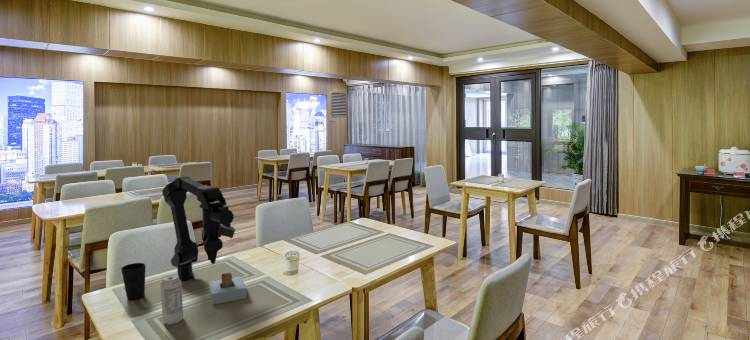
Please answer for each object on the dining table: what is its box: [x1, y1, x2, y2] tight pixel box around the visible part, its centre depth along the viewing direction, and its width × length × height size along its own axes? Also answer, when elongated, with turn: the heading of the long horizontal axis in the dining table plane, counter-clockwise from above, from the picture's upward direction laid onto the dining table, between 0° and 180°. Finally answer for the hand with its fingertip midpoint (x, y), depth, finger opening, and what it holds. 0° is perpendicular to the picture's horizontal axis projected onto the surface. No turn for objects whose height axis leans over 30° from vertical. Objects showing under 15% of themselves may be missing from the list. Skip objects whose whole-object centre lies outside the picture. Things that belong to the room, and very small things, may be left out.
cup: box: [120, 262, 146, 302], centre depth 149 cm, size 8×8×12 cm
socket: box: [208, 276, 248, 306], centre depth 152 cm, size 12×12×4 cm
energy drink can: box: [159, 274, 184, 326], centre depth 132 cm, size 6×6×15 cm
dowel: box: [221, 272, 233, 288], centre depth 152 cm, size 4×4×8 cm
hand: (212, 259), depth 155 cm, fingers open, 9 cm apart
